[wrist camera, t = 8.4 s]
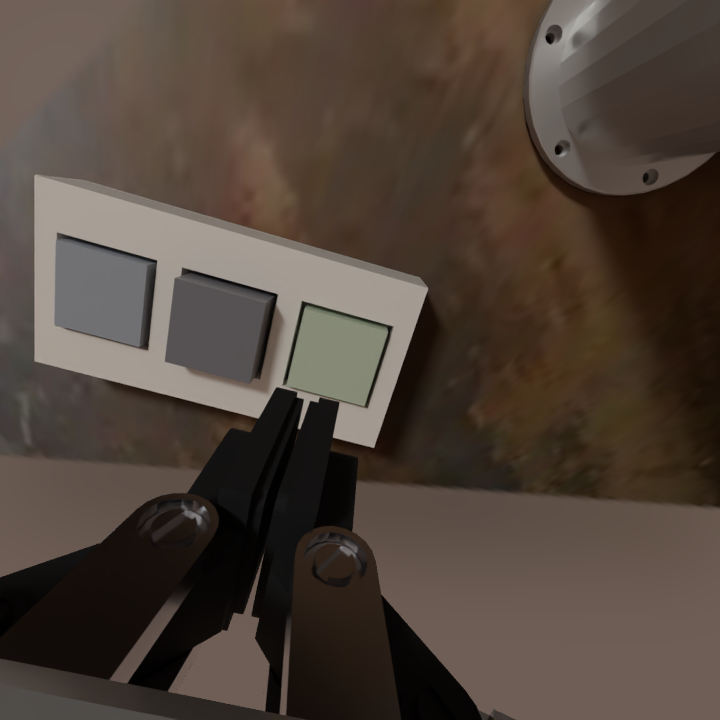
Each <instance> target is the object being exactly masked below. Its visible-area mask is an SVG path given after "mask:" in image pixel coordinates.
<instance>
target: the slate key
mask: <svg viewBox="0 0 720 720" xmlns="http://www.w3.org/2000/svg"><path fill="white" fill-rule="evenodd" d="M156 269H157V260H154V259H151V258H147V257H143V256H140V255H136V254H133V253H129V252H126V251H122V250H118V249H115V248H111V247H108V246H104V245H101V244H97V243H93V242H90V241H86V240H83V239H79V238H70V239H59V240H56V255H55V315H54V325H57V326H61V327H65V328H68V329H72V330H76V331H80V332H84V333H87V334H91V335H95V336H99V337H103V338H106V339H110V340H114V341H118V342H122V343H125V344H129V345H133V346H137V347H141V346H142V345H144V344H146V343H147V342H149V337H150V327H151V318H152V308H153V298H154V289H155V279H156Z"/></svg>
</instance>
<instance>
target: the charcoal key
mask: <svg viewBox="0 0 720 720" xmlns="http://www.w3.org/2000/svg"><path fill="white" fill-rule="evenodd" d="M276 299H277V294H276V293H272V292H269V291H265V290H261V289H258V288H254V287H251V286H247V285H244V284H240V283H236V282H233V281H229V280H226V279H222V278H218V277H215V276H211V275H208V274H204V273H201V272H197V271H194V272H191V273H188V274H185V275H182V276H179V277H176V278H175V280H174V288H173V296H172V305H171V313H170V321H169V330H168V338H167V346H166V355H165V362H167V363H171V364H175V365H179V366H183V367H186V368H190V369H194V370H198V371H202V372H205V373H209V374H213V375H217V376H221V377H225V378H228V379H232V380H236V381H240V382H244V383H247V384H250V383H251V381H252V380H253V379H254V377H255V376H256V374H257V373H258V371H259V370H260V369H261V367H262V365H263V360H264V356H265V351H266V346H267V341H268V337H269V332H270V327H271V323H272V318H273V313H274V308H275V304H276Z"/></svg>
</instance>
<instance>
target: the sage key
mask: <svg viewBox="0 0 720 720" xmlns="http://www.w3.org/2000/svg"><path fill="white" fill-rule="evenodd" d="M387 334H388V329H387V325H386V324H383V323H379V322H376V321H372V320H369V319H365V318H361V317H358V316H354V315H351V314H347V313H344V312H340V311H336V310H333V309H329V308H326V307H322V306H319V305H315V304H311V303H308V304H307V306H306V307H305V309H304V313H303V317H302V322H301V326H300V330H299V334H298V338H297V343H296V347H295V351H294V355H293V359H292V364H291V368H290V372H289V376H288V380H287V385H286V386H289V387H293V388H297V389H300V390H304V391H308V392H312V393H316V394H319V395H323V396H327V397H331V398H335V399H338V400H342V401H346V402H350V403H354V404H357V405H361V406H365V403H366V400H367V397H368V394H369V390H370V387H371V384H372V381H373V378H374V375H375V372H376V368H377V365H378V362H379V359H380V356H381V353H382V350H383V346H384V343H385V340H386V337H387Z"/></svg>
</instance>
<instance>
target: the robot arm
mask: <svg viewBox="0 0 720 720" xmlns="http://www.w3.org/2000/svg"><path fill="white" fill-rule="evenodd" d="M545 36H548V37H549V38H550V39H551V44H548V43H547V42H546V39H545ZM523 97H524V106H525V116H526V121H527V124H528V128H529V131H530V134H531V138H532V140H533V142H534V144H535V146H536V148H537V150H538V152H539V154H540V156H541V157H542V159H543V160H544V161H545V162H546V163H547V165H548V166H549V167H550V168H551V169H552V171H553V172H554V173H556V174H557V175H558V176H559V177H561V178H562V179H563V180H565V181H566V182H567V183H569V184H571V185H573V186H575V187H577V188H579V189H582V190H584V191H586V192H591V193H596V194H601V195H631V194H639V193H646V192H649V191H652V190H656V189H659V188H662V187H665V186H667V185H669V184H671V183H673V182H675V181H677V180H679V179H681V178H683V177H685V176H687V175H689V174H690V173H691V172H693V171H694V170H696V169H697V168H698V167H700V166H701V165H703V164H704V163H705V162H707V161H708V160H709V159H710V158H711V157H712V156H713V155H714V154H715V153H716V152H720V0H551V2H550V3H549V5H548V7H547V9H546V10H545V12H544V14H543V15H542V17H541V19H540V22H539V24H538V27H537V29H536V32H535V34H534V37H533V39H532V42H531V45H530V50H529V54H528V58H527V63H526V67H525V76H524V91H523ZM555 146H557V147H559V149H560V151H559V154H558V155H556V154H555V151H554V150H555ZM643 175H644V180H643ZM303 403H304V399H302V398H297V392H296V391H292V390H287V389H283V388H279V387H276V389H275V390H274V392H273V394H272V396H271V397H270V399H269V401H268V403H267V405H266V406H265V408H264V410H263V412H262V413H261V415H260V417H259V419H258V421H257V422H256V424H255V426H254V428H253V429H252V431H251V432H247V431H243V430H239V429H234V428H231V429H230V430H229V431H228V433H227V434H226V436H225V437H224V439H223V440H222V442H221V443H220V445H219V446H218V448H217V449H216V451H215V452H214V454H213V455H212V457H211V458H210V460H209V461H208V463H207V464H206V466H205V467H204V469H203V470H202V472H201V473H200V475H199V476H198V478H197V479H196V481H195V482H194V484H193V485H192V487H191V488H190V490H189V491H188V493H171V494H166V495H161V496H158V497H156V498H154V499H151V500H149V501H147V502H146V503H144V504H143V505H141V506H140V507H139V508H137V509H136V510H135V511H134V512H133V513H132V514H131V515H130V516H129V517H128V518H127V519H126V520H124V521H123V522H122V523H121V524H120V525H119V526H118V527H117V528H116V529H115V530H114V531H113V532H112V533H111V534H110V535H109V536H107V538H105V539H104V540H103V541H102V542H101V543H99V544H96V545H93V546H90V547H87V548H84V549H81V550H79V551H76V552H73V553H70V554H67V555H64V556H61V557H58V558H55V559H53V560H49V561H47V562H44V563H41V564H38V565H35V566H32V567H29V568H26V569H23V570H21V571H18V572H15V573H12V574H9V575H6V576H3V577H1V578H0V720H515V719H513V718H511V717H509V716H507V715H505V714H502V713H500V712H498V711H496V710H493V711H492V712H491V714H490V715H488V714H486V713H483V712H481V711H479V710H478V709H477V707H476V705H475V703H474V702H473V701H472V699H471V698H470V696H469V695H468V694H467V692H466V691H465V689H464V688H463V687H462V686H461V685H460V684H459V683H458V682H457V680H456V679H455V678H454V677H453V676H452V675H451V673H450V672H449V671H448V670H447V669H446V668H445V667H444V665H443V664H442V663H441V662H440V661H439V660H438V659H437V658H436V656H435V655H434V654H433V653H432V652H431V651H430V650H429V649H428V647H427V646H426V645H425V644H424V643H423V642H422V640H421V639H420V638H419V637H418V636H417V635H416V634H415V632H414V631H413V630H412V629H411V628H410V627H409V626H408V624H407V623H406V622H405V621H404V620H403V619H402V618H401V616H400V615H399V614H398V613H397V612H396V611H395V610H394V608H393V607H392V606H391V605H390V604H389V603H388V602H387V601H386V599H385V598H384V597H383V596H382V595H381V591H380V585H379V579H378V573H377V566H376V561H375V558H374V555H373V552H372V550H371V549H370V547H369V546H368V545H367V543H366V542H365V541H364V540H363V539H362V538H361V537H359V536H358V535H357V534H355V533H353V532H352V528H353V516H354V504H355V492H356V491H355V490H356V480H357V467H358V457H355V456H350V455H346V454H342V453H337V452H333V451H330V449H331V444H332V439H333V434H334V429H335V424H336V419H337V414H338V409H339V404H340V402H338V401H333V400H329V399H325V398H321V397H320V398H319V401H318V402H314V401H310V403H309V406H308V408H307V411H306V414H305V417H304V420H303V423H302V426H301V428H300V431H299V434H298V437H297V440H296V435H297V431H298V426H299V421H300V417H301V412H302V408H303ZM295 440H296V443H295ZM294 445H295V446H294ZM264 551H265V552H264ZM263 554H264V557H263V562H262V567H261V571H260V577H259V581H258V586H257V591H256V595H255V600H254V605H253V611H252V616H253V617H258V618H259V623H258V627H257V632H256V637H255V639H256V641H257V643H258V644H259V646H260V648H261V650H262V651H263V653H264V655H265V657H266V658H267V660H268V666H267V670H266V677H265V686H264V696H263V706H262V711H260V710H255V709H250V708H245V707H240V706H235V705H231V704H226V703H221V702H216V701H211V700H206V699H201V698H196V697H191V696H186V695H181V694H176V693H177V691H178V689H179V687H180V685H181V684H182V682H183V680H184V678H185V677H186V675H187V673H188V671H189V670H190V668H191V666H192V664H193V662H194V661H195V659H196V657H197V654H198V651H199V649H200V646H201V643H202V642H204V641H205V640H207V639H209V638H211V637H212V636H214V635H216V634H217V633H219V632H221V631H222V630H226V631H227V630H228V627H229V624H230V621H231V619H232V615H233V613H238V614H243V613H244V611H245V608H246V605H247V602H248V599H249V596H250V593H251V590H252V587H253V584H254V581H255V578H256V574H257V572H258V569H259V566H260V563H261V559H262V556H263Z"/></svg>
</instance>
